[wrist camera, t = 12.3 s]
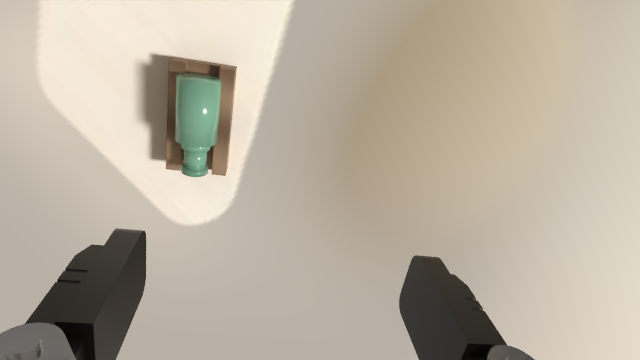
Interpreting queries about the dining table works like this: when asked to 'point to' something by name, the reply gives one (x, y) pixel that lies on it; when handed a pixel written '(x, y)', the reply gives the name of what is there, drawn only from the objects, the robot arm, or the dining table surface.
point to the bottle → (196, 119)
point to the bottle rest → (220, 150)
